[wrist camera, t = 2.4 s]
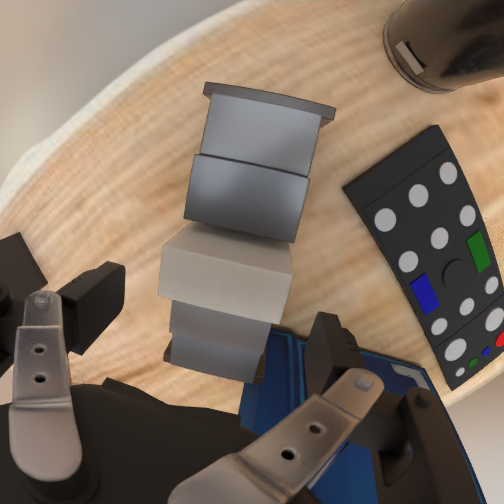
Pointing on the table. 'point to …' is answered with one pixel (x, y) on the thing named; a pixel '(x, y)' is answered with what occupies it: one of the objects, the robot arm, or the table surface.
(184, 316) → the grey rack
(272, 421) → the book
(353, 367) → the robot arm
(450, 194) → the remote control
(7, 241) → the dark book holder
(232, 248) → the white book
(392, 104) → the table surface
